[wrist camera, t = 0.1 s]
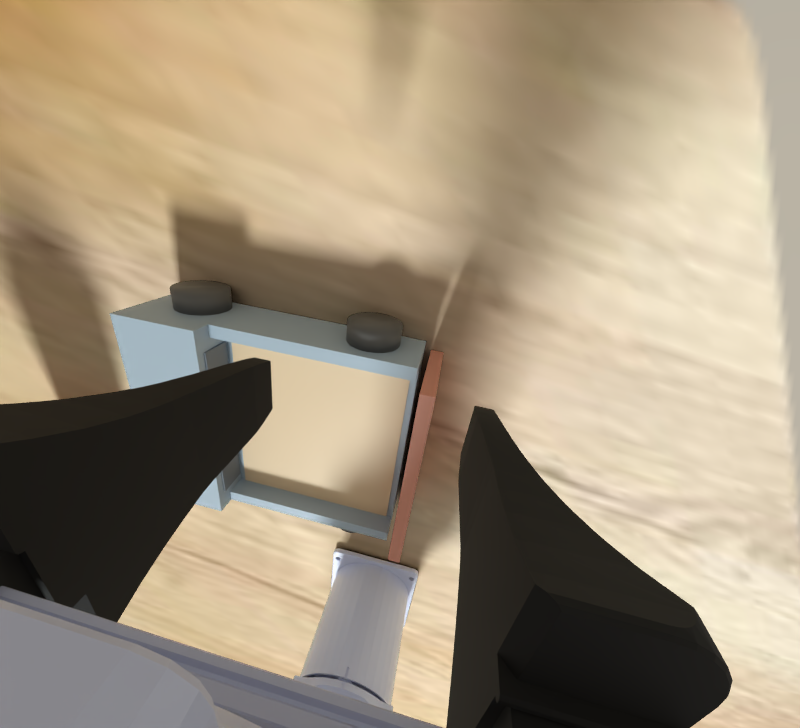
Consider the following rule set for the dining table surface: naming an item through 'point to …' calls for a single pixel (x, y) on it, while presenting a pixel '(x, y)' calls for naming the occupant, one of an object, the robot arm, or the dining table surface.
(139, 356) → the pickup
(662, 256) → the dining table surface
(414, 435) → the tailgate
